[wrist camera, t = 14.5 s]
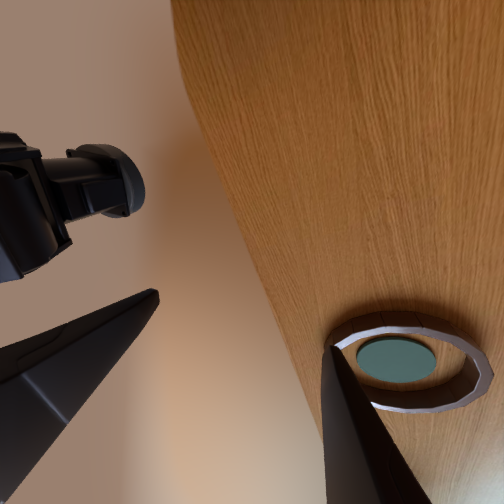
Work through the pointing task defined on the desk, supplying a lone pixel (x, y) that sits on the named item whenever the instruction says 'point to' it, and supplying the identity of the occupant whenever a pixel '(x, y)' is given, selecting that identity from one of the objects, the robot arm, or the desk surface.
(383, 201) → the desk surface
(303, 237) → the desk surface
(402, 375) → the pad
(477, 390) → the hoop
